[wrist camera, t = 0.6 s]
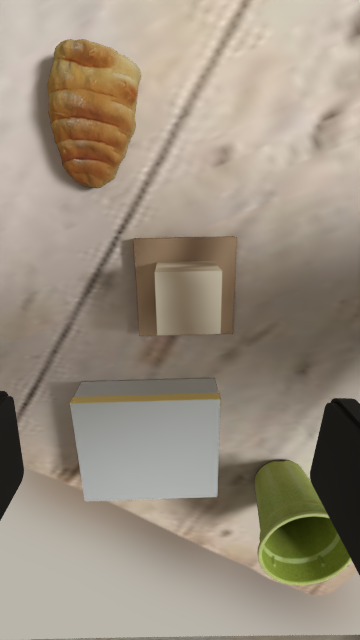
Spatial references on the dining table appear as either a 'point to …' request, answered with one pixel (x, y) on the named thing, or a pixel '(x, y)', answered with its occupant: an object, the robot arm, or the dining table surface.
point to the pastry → (92, 109)
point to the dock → (147, 438)
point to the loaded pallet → (182, 253)
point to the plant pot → (295, 528)
